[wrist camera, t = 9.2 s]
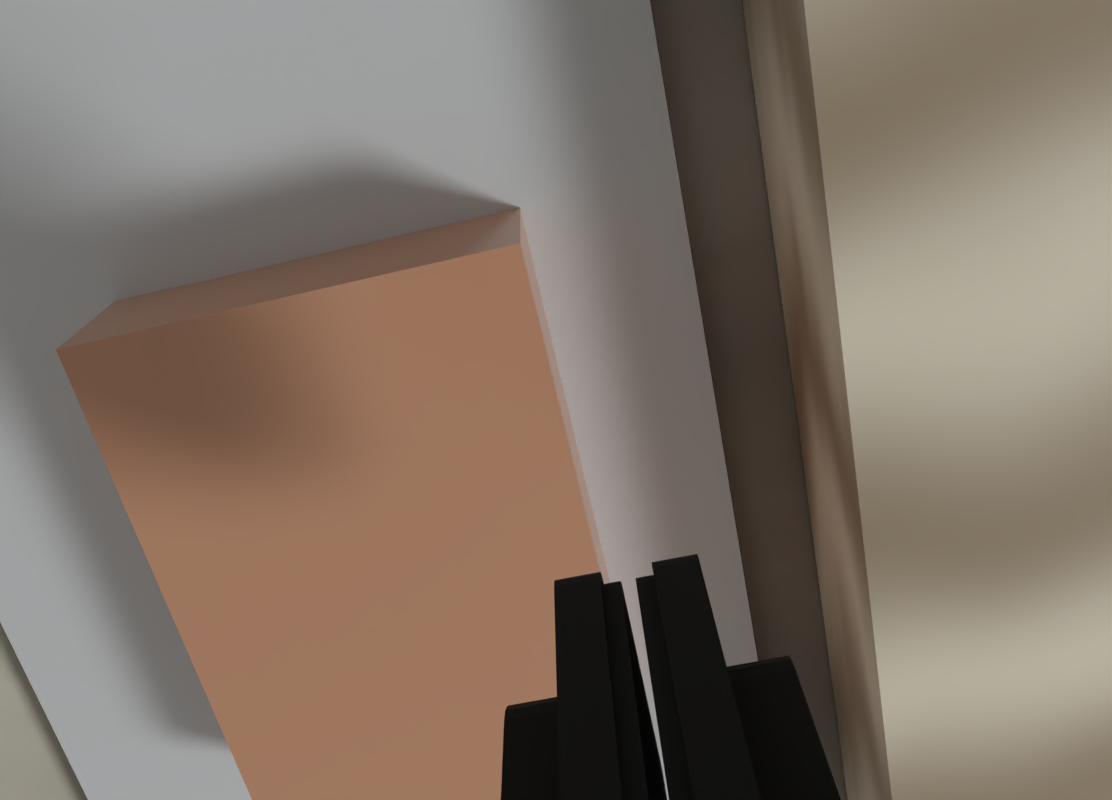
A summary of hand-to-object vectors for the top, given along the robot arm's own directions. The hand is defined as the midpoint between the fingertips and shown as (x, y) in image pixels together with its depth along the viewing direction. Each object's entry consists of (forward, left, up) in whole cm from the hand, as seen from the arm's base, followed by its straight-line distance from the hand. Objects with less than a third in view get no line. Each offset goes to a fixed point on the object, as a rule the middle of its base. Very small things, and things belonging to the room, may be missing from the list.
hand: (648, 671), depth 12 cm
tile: (+1, -4, -6) cm, 7 cm away
